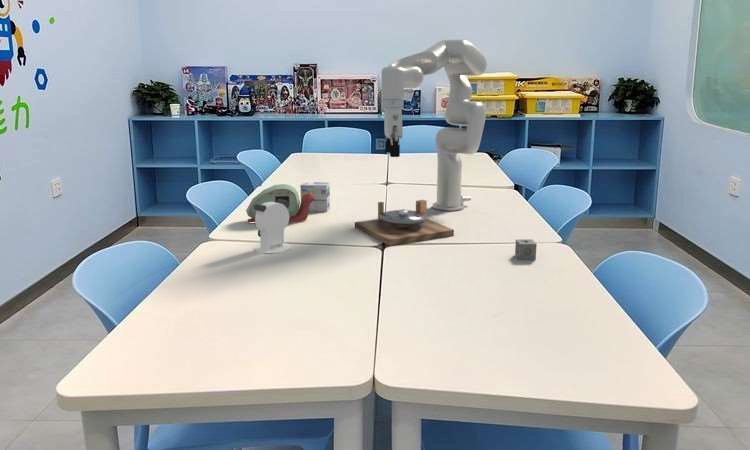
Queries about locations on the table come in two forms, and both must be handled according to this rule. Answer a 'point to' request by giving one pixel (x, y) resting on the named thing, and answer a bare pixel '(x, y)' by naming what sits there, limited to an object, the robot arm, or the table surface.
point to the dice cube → (525, 249)
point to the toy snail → (285, 194)
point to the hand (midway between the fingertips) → (392, 154)
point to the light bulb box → (317, 195)
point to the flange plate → (403, 219)
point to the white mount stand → (272, 226)
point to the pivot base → (402, 230)
